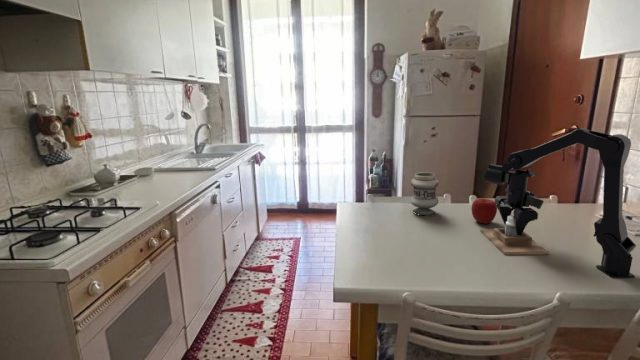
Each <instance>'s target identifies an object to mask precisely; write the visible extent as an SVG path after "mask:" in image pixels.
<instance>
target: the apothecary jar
mask: <svg viewBox="0 0 640 360" xmlns="http://www.w3.org/2000/svg"><path fill="white" fill-rule="evenodd" d="M439 183H440V182H439V180H438V179H437V178H436V175H435V173H434V172H430V171H429V172H428V171H427V172H426V171H423V172H422V171H421V172H420V171H419V172H416V173H414V177H413V178H412V179H411V180H410V184H411V186H412V187H413V190H412V191H413V194H412V196H411V197H410V203H411V205H413V206H414V207H416V208H415V209H412V211H413V212H415V213H416V214H419V215H427V216H426V217H429V216H428V215H432V216H434V215H435V214H436V211H435V210H433V209H432V208H434V207H436V206H437V205H438V204H439V199H438V197H437V194H436V190H437V187H438V186H439ZM413 212H412V213H413ZM415 213H414V214H415ZM416 214H415V215H416ZM419 215H418V216H419Z"/></svg>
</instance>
